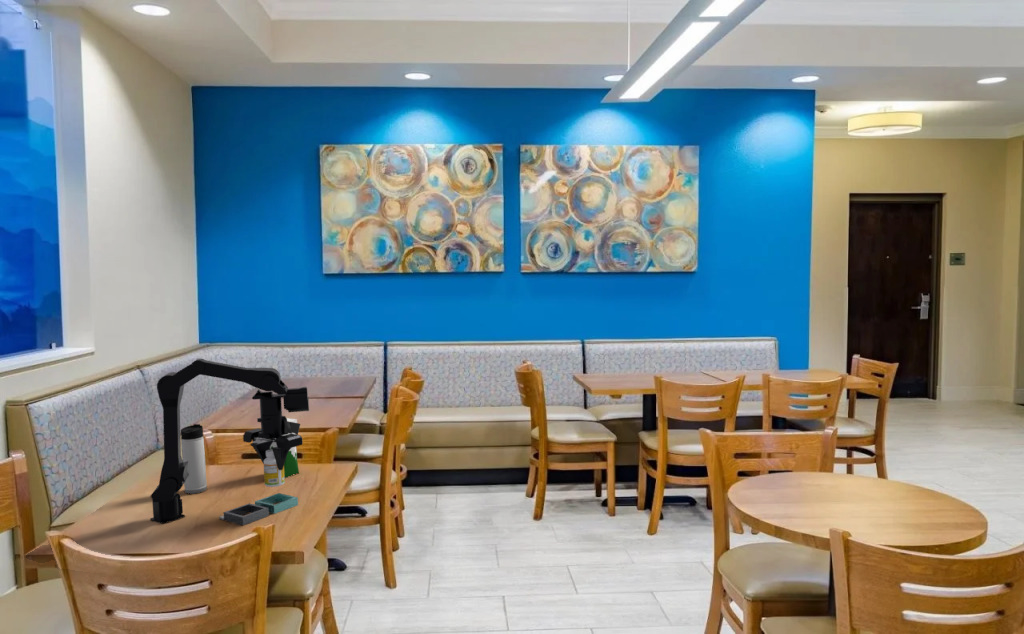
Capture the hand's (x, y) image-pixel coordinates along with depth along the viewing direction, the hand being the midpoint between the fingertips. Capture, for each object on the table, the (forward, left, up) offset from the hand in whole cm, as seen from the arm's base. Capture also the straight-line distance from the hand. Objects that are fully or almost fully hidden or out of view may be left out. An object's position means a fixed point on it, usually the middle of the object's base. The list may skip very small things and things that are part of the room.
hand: (274, 468), depth 204 cm
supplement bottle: (0, 0, -5) cm, 5 cm away
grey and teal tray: (-5, +1, -11) cm, 12 cm away
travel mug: (-2, +35, -11) cm, 37 cm away
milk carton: (+22, +24, -11) cm, 35 cm away
